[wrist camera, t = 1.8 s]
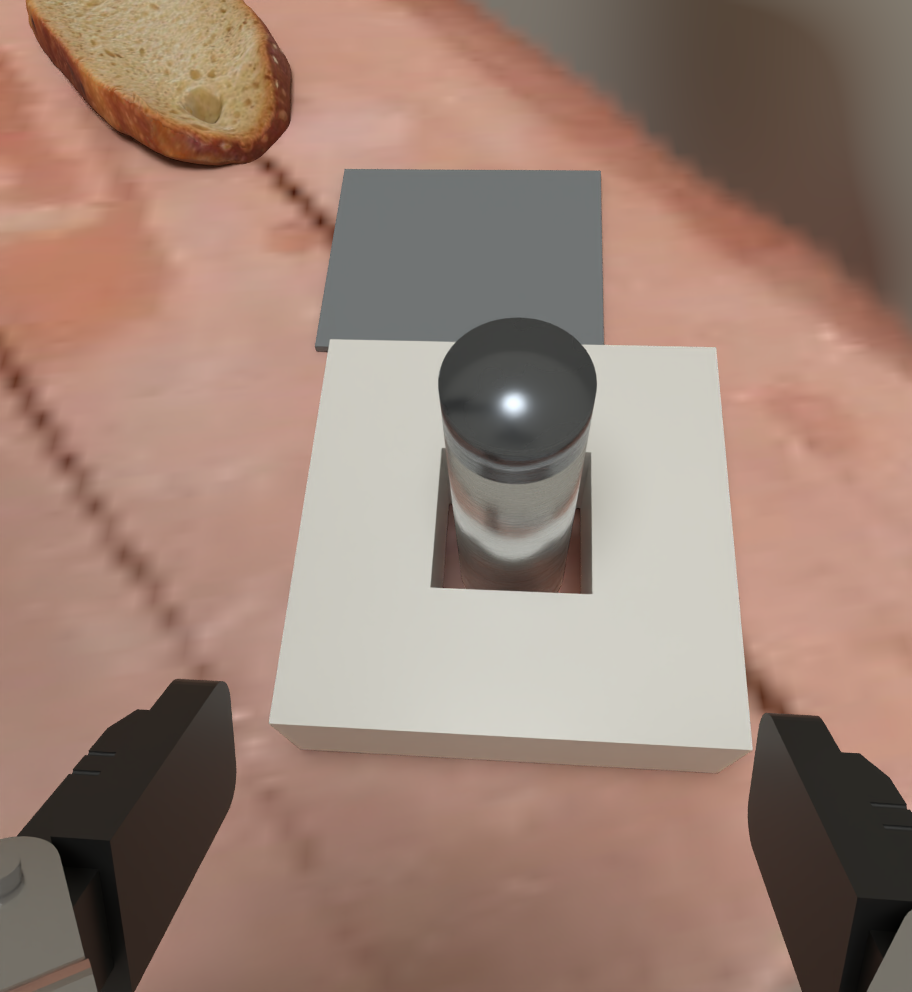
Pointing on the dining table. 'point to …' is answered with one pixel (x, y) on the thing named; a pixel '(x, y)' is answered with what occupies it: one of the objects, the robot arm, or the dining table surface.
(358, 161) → the dining table surface
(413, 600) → the socket housing
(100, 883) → the robot arm
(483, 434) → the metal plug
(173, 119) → the slice of bread
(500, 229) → the rubber mat
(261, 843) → the dining table surface
